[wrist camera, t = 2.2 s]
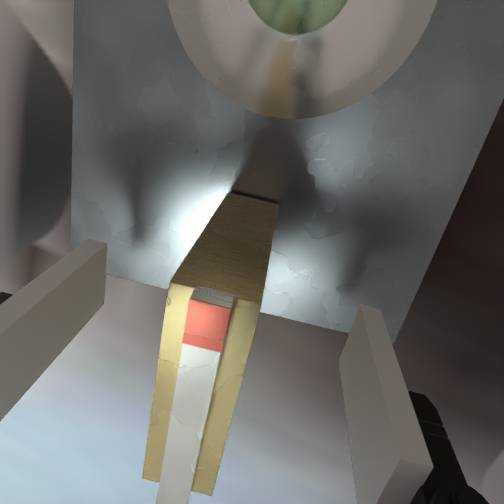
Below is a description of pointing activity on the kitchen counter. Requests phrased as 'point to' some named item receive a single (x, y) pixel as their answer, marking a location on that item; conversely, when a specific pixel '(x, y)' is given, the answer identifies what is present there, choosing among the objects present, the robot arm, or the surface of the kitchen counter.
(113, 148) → the base plate
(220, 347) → the yellow white layered bar
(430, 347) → the kitchen counter surface
